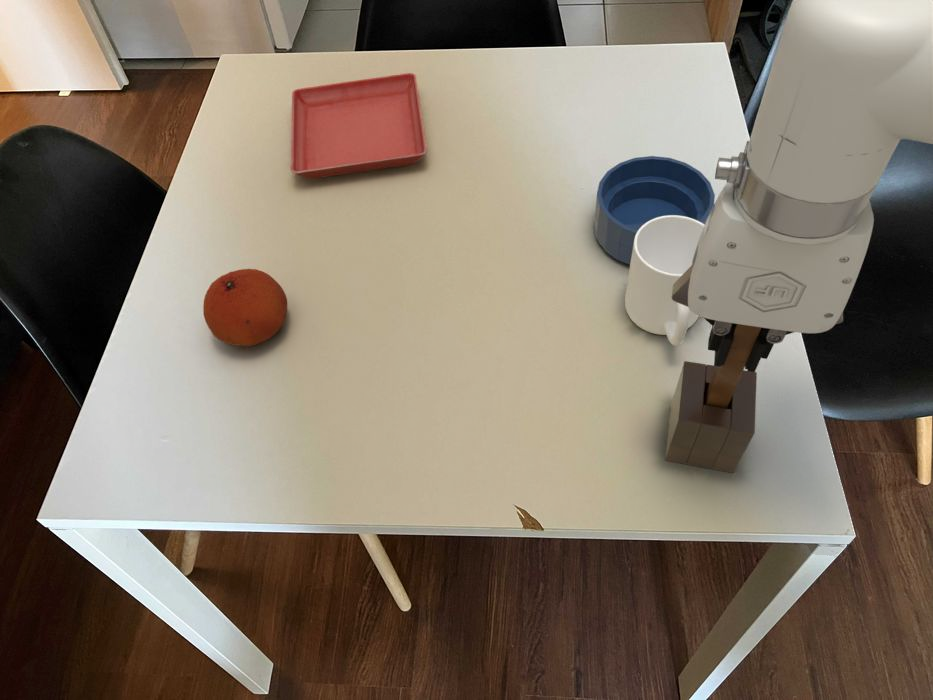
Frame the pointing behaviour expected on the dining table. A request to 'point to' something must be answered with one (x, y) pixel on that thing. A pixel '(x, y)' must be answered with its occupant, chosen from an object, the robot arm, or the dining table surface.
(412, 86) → the plant saucer
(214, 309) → the fruit
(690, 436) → the stand
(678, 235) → the cup
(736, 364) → the stick
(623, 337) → the dining table surface
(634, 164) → the bowl
